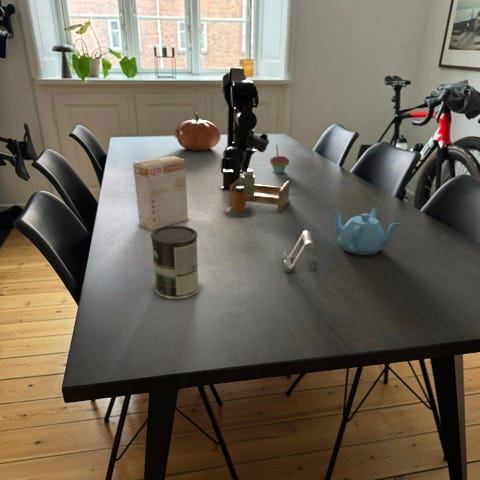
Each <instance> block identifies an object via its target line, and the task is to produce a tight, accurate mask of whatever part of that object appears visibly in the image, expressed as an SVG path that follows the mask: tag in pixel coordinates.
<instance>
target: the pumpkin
mask: <svg viewBox="0 0 480 480" xmlns="http://www.w3.org/2000/svg"><path fill="white" fill-rule="evenodd" d="M193 114H194V116H195V119H190V120H184V121H183V122H181V123H179V124H178V125H177V127H176V128H175V130H174V138H175V139H176V140H177V142H178V144H179V145H180V146H181V147H182V148H184V149H185V150H189V151H191V150H192V151H196V152H197V151H206V150H210V149H213V148H215V146H217V145H218V144H219V142H220V141H221V136H222V135H221V131H220V129H219V128H218V127H217V126H216V125H215V124H214V123H212V122H211V121H209V120H202V119H199V115H198V112H196V111H194V112H193Z"/></svg>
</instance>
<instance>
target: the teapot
mask: <svg viewBox="0 0 480 480" xmlns="http://www.w3.org/2000/svg"><path fill="white" fill-rule="evenodd" d="M331 210H332V212H333V213H334V215H335V226H334V230H335V233H336V235H337V236H338V244H339V245H340V247H341V248H342V249H343V250H344V251H346V253H347V252H348V253H349V254H354V255H358V256H372V255H375V254H377V253H379V252H380V251H381V250H382V249H383V248H384V247H385V246H386V245H387V246H388V244H389V243H390V242H391V241H392V239H393V235H394V231H395V228H396V227H397V226H398V225H400V224H401V223H402V221H401V222H399V221H398V222H397V221H396V222H393V223H391V224H389V227H388V229H387V232H386V234H385V231H384V229H383V226H382V224H381V222H380V220H378V219H377V212H378V206H373V207H372V209H371V212H370V214H369V213H361V214H360V215H354V216H352V217H350V219H349V220H348V221H347V222H346V223H345V224H344V225H343V224H342V215H341V213H340V212H339V211H338V210H336V209H334V208H332V209H331Z"/></svg>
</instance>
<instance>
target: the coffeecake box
mask: <svg viewBox="0 0 480 480" xmlns="http://www.w3.org/2000/svg"><path fill="white" fill-rule="evenodd" d="M132 165H133V176H134V185H135V193H136V194H135V195H136V204H137V211H138V212H137V215H138V222H139V226H140V227H143V228H146V229H147V230H150V231H155V230H157V229H159V228H162V227H167V226H172V225H174V224H178V223H180V222H181V223H182V222H185V221H188V220H189V212H188V194H187V192H188V191H187V171H186V170H187V169H186V159H184V158H180V157H178V156H175V155H174V156H173V155H172V156H171V155H170V156H166V157H161V158H155V159H149V160H145V161H139V162H133V163H132Z"/></svg>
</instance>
